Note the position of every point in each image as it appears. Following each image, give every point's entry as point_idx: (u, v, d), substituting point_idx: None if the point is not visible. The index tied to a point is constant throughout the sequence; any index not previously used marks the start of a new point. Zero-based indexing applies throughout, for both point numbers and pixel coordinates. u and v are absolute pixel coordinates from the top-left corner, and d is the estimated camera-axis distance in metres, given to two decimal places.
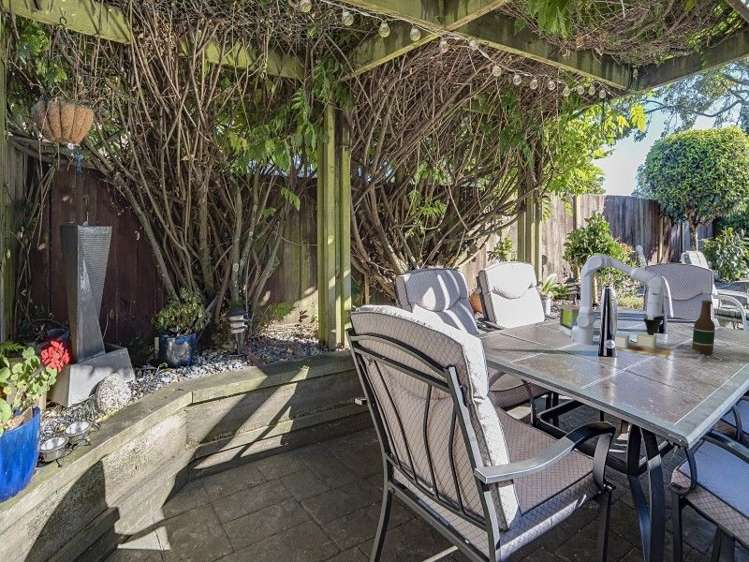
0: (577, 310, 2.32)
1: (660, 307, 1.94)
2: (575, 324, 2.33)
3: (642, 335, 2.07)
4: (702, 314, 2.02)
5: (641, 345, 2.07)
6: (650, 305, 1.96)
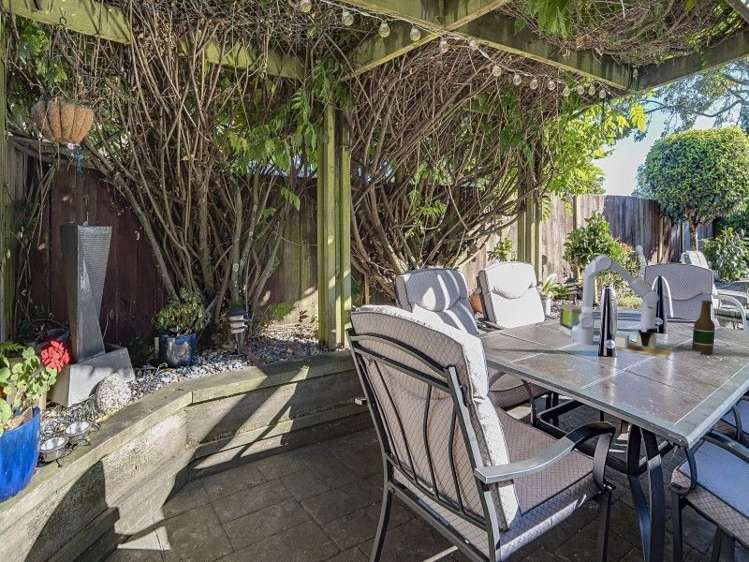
0: (577, 310, 2.32)
1: (653, 320, 2.04)
2: (575, 324, 2.33)
3: None
4: (702, 314, 2.02)
5: (641, 345, 2.07)
6: (644, 318, 2.06)
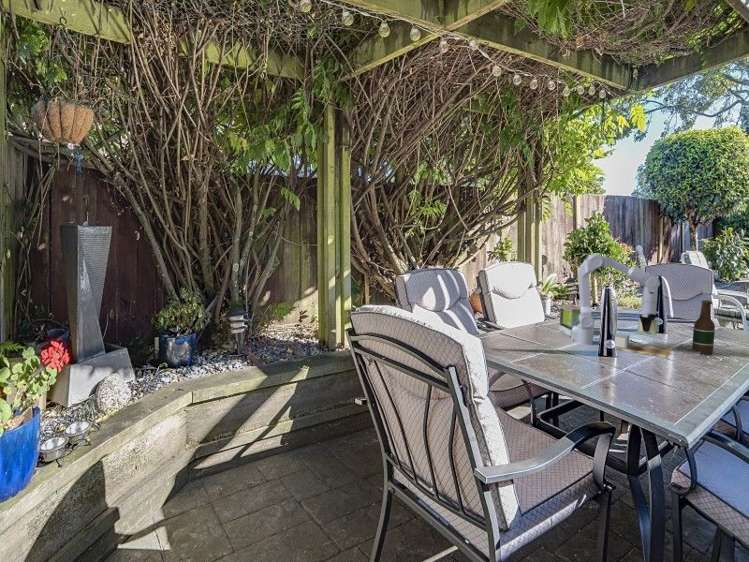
0: (577, 310, 2.32)
1: (654, 305, 2.03)
2: (575, 324, 2.33)
3: None
4: (702, 314, 2.02)
5: (642, 331, 2.07)
6: (645, 303, 2.05)
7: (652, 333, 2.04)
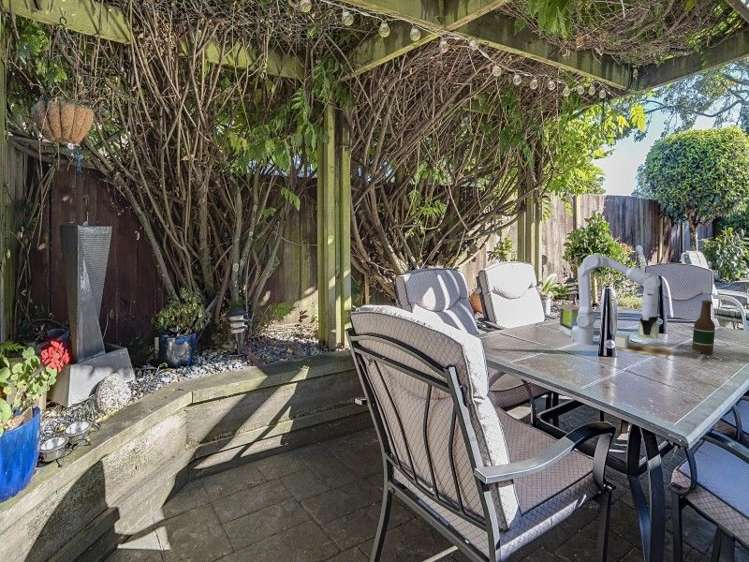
0: (577, 310, 2.32)
1: (655, 307, 1.95)
2: (575, 324, 2.33)
3: None
4: (702, 314, 2.02)
5: (643, 335, 1.98)
6: (645, 305, 1.97)
7: (653, 337, 1.96)
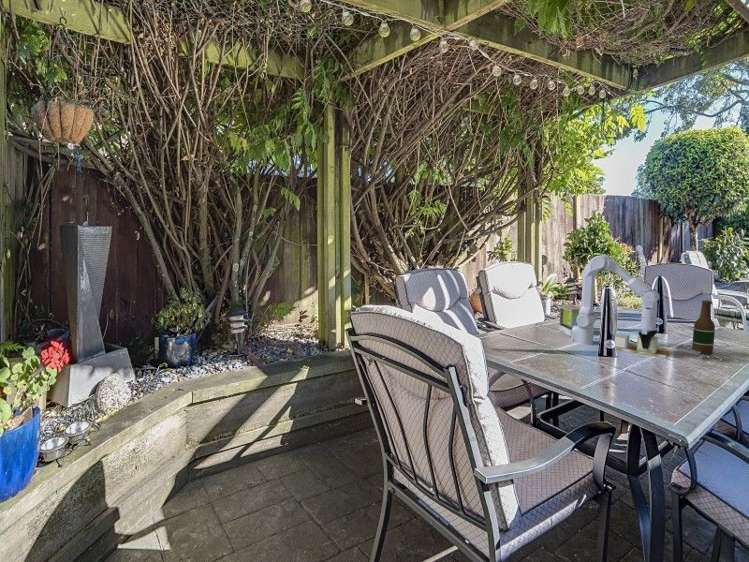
0: (577, 310, 2.32)
1: (654, 321, 1.95)
2: (575, 324, 2.33)
3: None
4: (702, 314, 2.02)
5: (642, 348, 1.99)
6: (644, 319, 1.97)
7: (652, 350, 1.96)
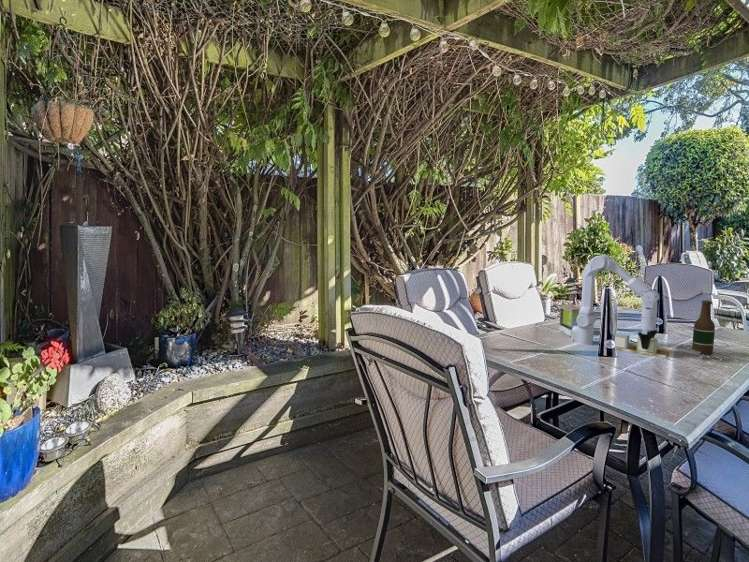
0: (577, 310, 2.32)
1: (654, 321, 1.95)
2: (575, 324, 2.33)
3: None
4: (702, 314, 2.02)
5: (641, 350, 1.99)
6: (644, 319, 1.97)
7: (652, 352, 1.96)
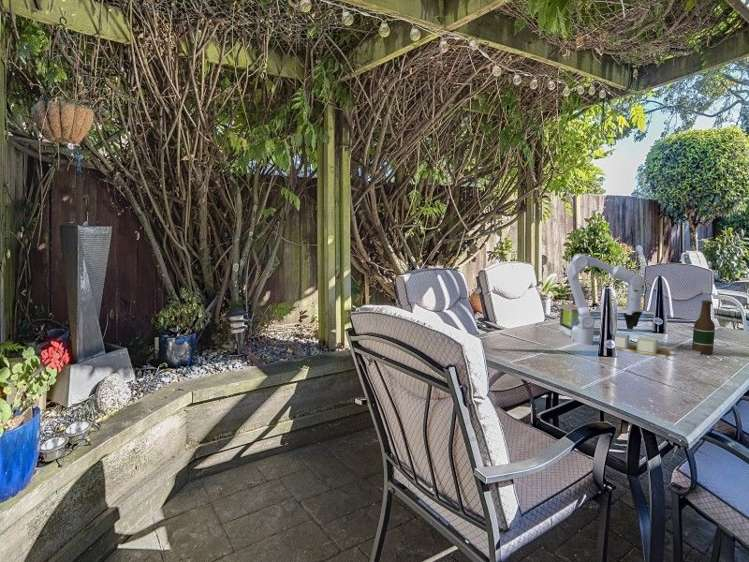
0: (577, 310, 2.32)
1: (639, 303, 2.06)
2: (575, 324, 2.33)
3: (642, 339, 1.98)
4: (702, 314, 2.02)
5: (641, 350, 1.99)
6: (629, 301, 2.08)
7: (652, 352, 1.96)
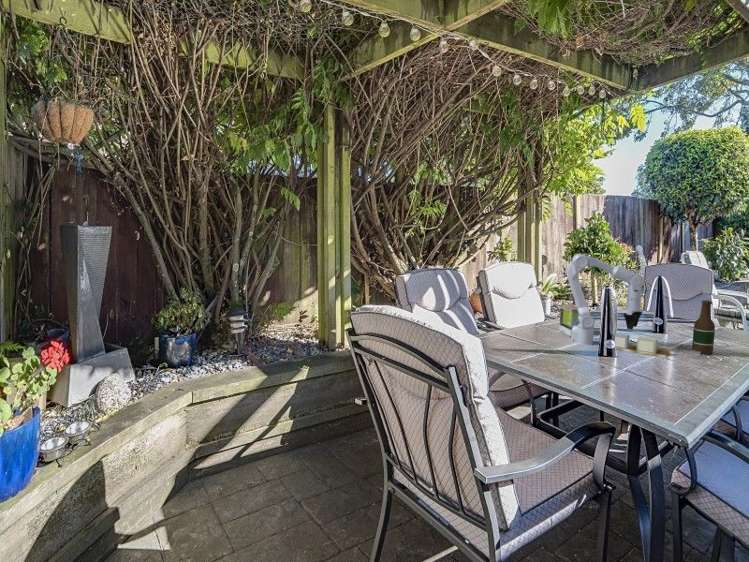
0: (577, 310, 2.32)
1: (639, 303, 2.06)
2: (575, 324, 2.33)
3: (642, 339, 1.98)
4: (702, 314, 2.02)
5: (641, 350, 1.99)
6: (629, 301, 2.08)
7: (652, 352, 1.96)
